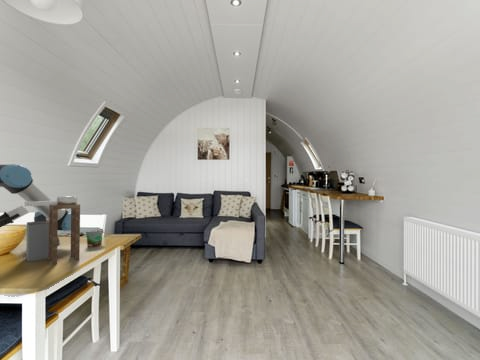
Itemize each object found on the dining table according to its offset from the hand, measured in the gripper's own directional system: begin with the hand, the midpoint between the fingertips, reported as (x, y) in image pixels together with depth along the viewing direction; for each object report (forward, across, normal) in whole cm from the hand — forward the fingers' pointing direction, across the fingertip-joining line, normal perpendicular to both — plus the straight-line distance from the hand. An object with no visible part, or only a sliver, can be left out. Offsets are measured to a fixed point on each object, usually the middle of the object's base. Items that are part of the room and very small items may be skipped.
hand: (25, 208), depth 125 cm
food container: (+18, +20, +44) cm, 52 cm away
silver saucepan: (+10, 0, +4) cm, 11 cm away
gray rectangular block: (-8, +13, +28) cm, 32 cm away
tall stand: (0, 0, +33) cm, 33 cm away
